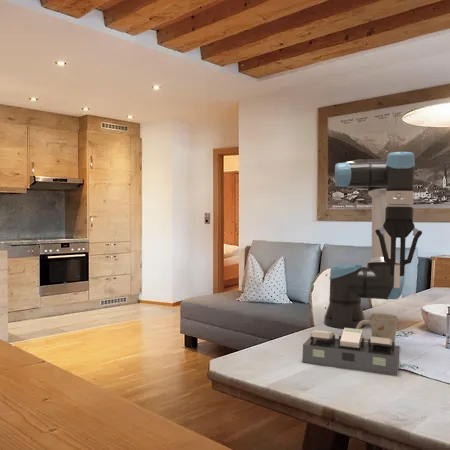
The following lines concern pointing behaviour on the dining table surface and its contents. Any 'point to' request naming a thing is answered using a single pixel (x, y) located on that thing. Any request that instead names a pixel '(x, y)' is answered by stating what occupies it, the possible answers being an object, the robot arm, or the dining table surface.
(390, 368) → the console
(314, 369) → the dining table surface
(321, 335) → the rocker
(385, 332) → the mug
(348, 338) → the rocker
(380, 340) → the rocker
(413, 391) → the dining table surface
